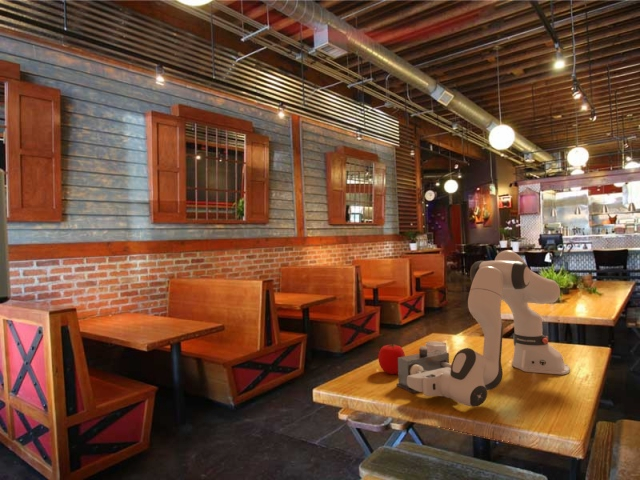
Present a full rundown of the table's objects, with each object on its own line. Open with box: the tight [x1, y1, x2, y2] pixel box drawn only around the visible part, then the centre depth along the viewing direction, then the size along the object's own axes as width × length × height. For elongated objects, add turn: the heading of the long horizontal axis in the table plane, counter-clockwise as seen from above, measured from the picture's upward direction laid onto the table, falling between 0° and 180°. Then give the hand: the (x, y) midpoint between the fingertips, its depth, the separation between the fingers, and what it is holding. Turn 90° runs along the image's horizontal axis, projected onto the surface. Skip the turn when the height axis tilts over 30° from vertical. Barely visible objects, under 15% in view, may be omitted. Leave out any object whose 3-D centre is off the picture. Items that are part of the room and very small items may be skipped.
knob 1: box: [410, 364, 424, 375], centre depth 170 cm, size 9×5×5 cm, turn 27°
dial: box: [418, 345, 428, 356], centre depth 174 cm, size 3×3×4 cm
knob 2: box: [441, 361, 452, 368], centre depth 172 cm, size 9×5×5 cm, turn 27°
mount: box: [396, 350, 450, 394], centre depth 173 cm, size 10×23×11 cm, turn 117°
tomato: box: [377, 343, 406, 375], centre depth 188 cm, size 12×12×13 cm
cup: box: [425, 340, 448, 353], centre depth 188 cm, size 9×9×12 cm
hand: (419, 372), depth 166 cm, fingers closed, pressing on knob 1
